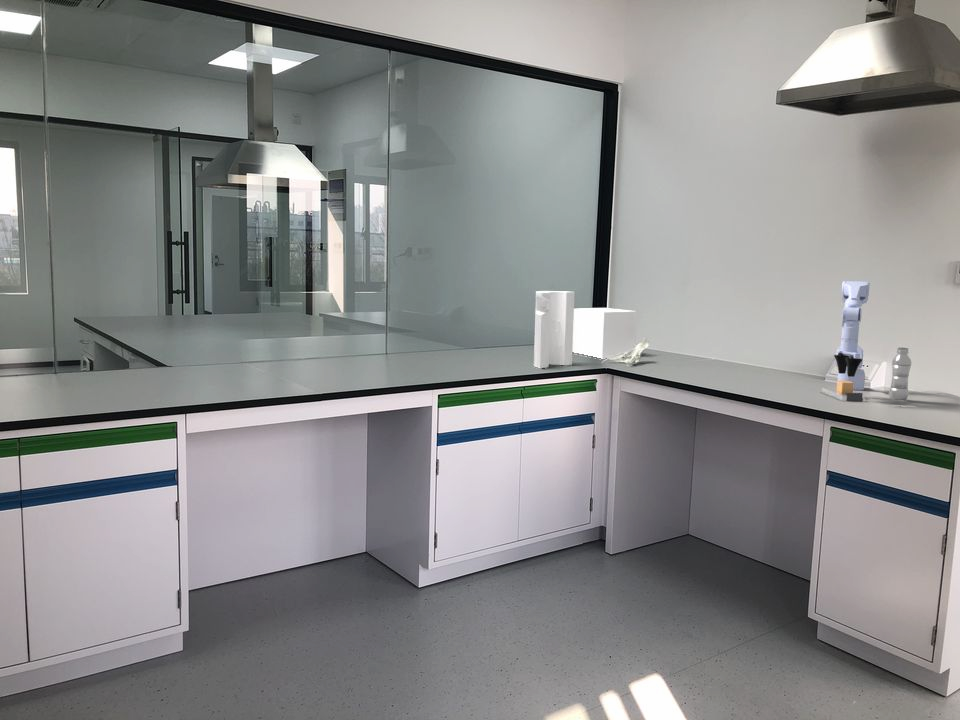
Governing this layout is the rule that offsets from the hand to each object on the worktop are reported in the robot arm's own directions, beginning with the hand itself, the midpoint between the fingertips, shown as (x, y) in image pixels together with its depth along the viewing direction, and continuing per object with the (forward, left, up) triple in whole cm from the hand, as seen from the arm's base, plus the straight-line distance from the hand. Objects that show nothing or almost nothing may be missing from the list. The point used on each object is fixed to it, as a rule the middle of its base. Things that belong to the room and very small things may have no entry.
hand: (846, 375), depth 289 cm
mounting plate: (0, -1, -9) cm, 9 cm away
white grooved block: (+106, -73, -10) cm, 129 cm away
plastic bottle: (-20, 0, -10) cm, 23 cm away
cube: (+73, -114, -10) cm, 136 cm away
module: (0, 0, -9) cm, 9 cm away
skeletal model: (+65, -85, -10) cm, 107 cm away
